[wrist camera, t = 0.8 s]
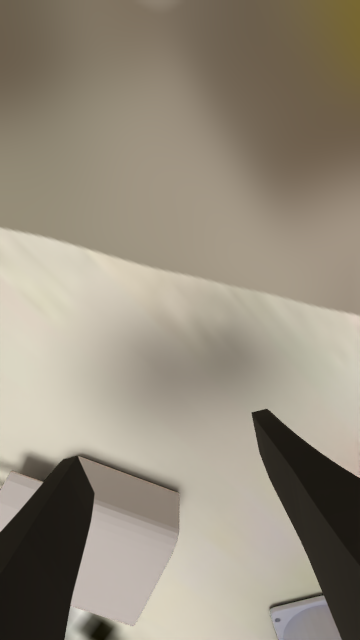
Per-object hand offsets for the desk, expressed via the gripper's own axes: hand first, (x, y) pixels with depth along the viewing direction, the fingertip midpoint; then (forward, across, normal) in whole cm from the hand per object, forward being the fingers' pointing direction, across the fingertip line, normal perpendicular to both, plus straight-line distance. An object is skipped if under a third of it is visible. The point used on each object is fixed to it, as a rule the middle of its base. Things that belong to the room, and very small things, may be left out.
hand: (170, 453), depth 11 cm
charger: (+10, +11, +11) cm, 18 cm away
